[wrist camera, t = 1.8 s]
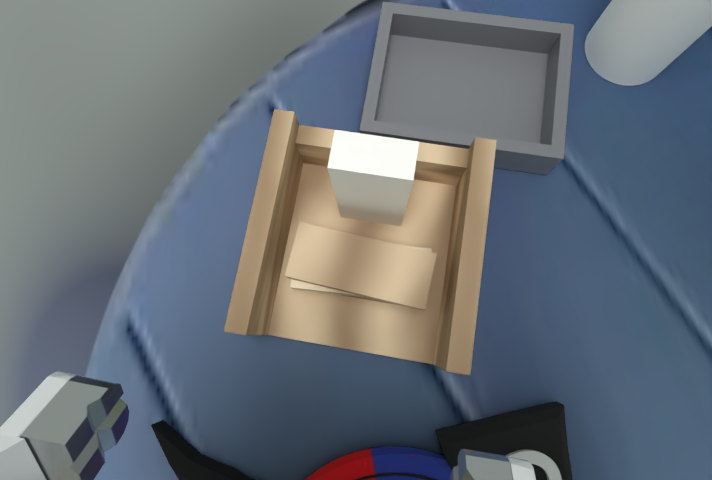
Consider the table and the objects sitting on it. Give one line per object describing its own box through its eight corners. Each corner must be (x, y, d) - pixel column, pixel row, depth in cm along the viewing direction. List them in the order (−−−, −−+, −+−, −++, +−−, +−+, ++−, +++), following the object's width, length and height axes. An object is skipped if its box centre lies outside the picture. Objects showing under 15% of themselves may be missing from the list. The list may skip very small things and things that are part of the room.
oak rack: (473, 175, 37) (496, 140, 30) (450, 366, 34) (470, 375, 27) (291, 149, 38) (274, 109, 31) (252, 331, 35) (223, 331, 28)
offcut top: (433, 257, 32) (436, 253, 30) (422, 311, 31) (425, 309, 30) (302, 226, 33) (299, 222, 31) (288, 278, 32) (284, 275, 30)
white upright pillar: (405, 198, 36) (419, 141, 25) (401, 226, 35) (413, 180, 25) (345, 189, 36) (334, 129, 26) (340, 217, 36) (327, 167, 25)
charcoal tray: (556, 51, 39) (574, 24, 36) (546, 175, 37) (563, 159, 34) (382, 29, 40) (383, 1, 37) (360, 148, 38) (359, 130, 35)
